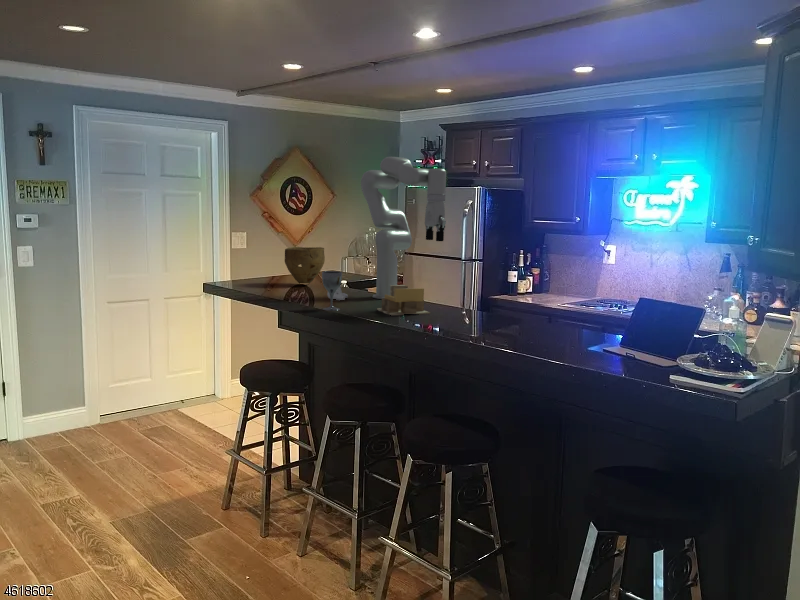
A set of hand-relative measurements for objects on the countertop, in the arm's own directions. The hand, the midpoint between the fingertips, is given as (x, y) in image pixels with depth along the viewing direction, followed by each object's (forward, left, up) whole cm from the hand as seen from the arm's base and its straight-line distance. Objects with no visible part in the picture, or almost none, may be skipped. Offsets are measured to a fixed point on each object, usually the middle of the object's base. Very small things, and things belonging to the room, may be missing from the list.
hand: (434, 240), depth 271 cm
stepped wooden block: (+8, -17, -28) cm, 34 cm away
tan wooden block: (+9, -17, -23) cm, 30 cm away
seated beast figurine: (-32, -32, -28) cm, 53 cm away
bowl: (-84, -33, -28) cm, 95 cm away
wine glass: (-4, -43, -28) cm, 52 cm away
